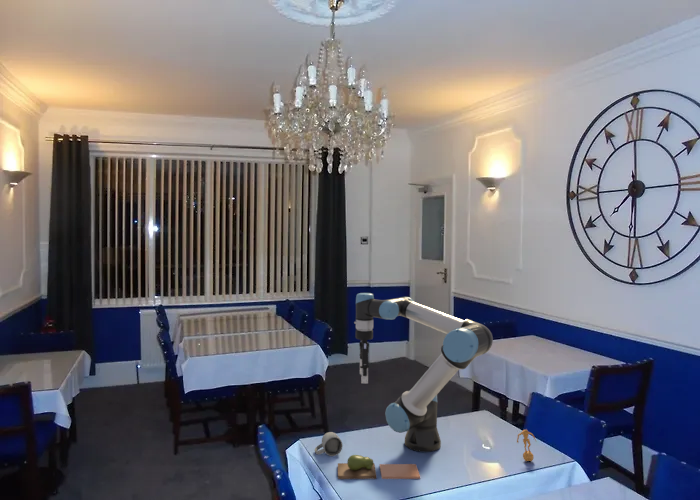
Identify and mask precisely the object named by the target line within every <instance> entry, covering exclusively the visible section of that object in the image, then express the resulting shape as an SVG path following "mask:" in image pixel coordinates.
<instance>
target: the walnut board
mask: <svg viewBox="0 0 700 500" xmlns="http://www.w3.org/2000/svg"><path fill="white" fill-rule="evenodd" d="M376 471H377V469H376V465H375V463H374V462H373V466H372V469H367V468H364V467H363V468H361V469H359V470H351V469H350V468H349V467H348V464H347V462H346V463H345V462H344V463H343V462H339V463H337V479H338V480H377V472H376Z"/></svg>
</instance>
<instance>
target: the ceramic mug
mask: <svg viewBox="0 0 700 500" xmlns="http://www.w3.org/2000/svg"><path fill="white" fill-rule="evenodd" d="M342 450H343V442H342V440H341V438H340V437H339V436H338V434H337V433H336V432H333V431H329V432H326V433H324V434H323V436H322V438H321V443H320V444H318V445H316V446H315V448H314V454H316V455H323V454H324V453H325V454H326V455H327V456H329V457H336V456H337V455H339V454H340V453H341V452H342Z"/></svg>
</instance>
